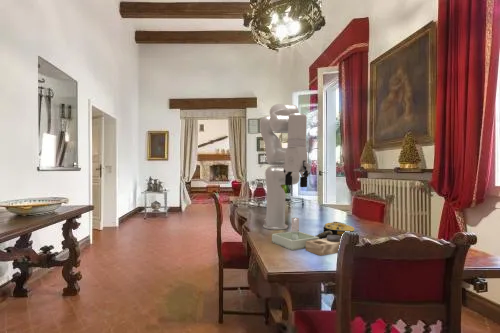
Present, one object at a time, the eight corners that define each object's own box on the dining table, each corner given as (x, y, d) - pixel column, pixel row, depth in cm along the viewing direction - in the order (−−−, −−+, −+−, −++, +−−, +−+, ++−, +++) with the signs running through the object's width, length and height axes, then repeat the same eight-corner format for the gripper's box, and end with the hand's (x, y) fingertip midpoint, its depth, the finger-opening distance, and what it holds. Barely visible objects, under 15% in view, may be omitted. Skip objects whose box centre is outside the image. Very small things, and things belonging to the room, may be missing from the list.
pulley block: (304, 224, 137) (335, 217, 160) (302, 237, 138) (333, 228, 160) (334, 235, 128) (362, 225, 151) (331, 248, 129) (360, 236, 151)
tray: (271, 242, 131) (271, 233, 131) (297, 238, 138) (297, 230, 138) (292, 250, 119) (292, 241, 119) (318, 246, 126) (319, 237, 126)
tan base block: (320, 255, 113) (320, 241, 113) (305, 250, 120) (305, 236, 120) (347, 250, 120) (348, 237, 120) (332, 245, 127) (332, 233, 127)
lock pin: (289, 242, 129) (290, 218, 129) (295, 241, 131) (295, 217, 131) (294, 243, 127) (294, 219, 127) (300, 243, 128) (300, 218, 128)
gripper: (276, 144, 134) (276, 184, 134) (303, 143, 119) (302, 188, 119) (290, 145, 138) (290, 184, 138) (318, 143, 123) (317, 187, 123)
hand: (295, 186), depth 129 cm, fingers open, 9 cm apart
